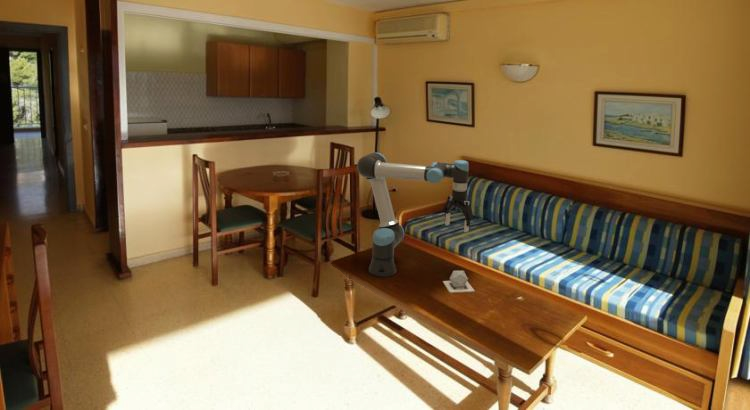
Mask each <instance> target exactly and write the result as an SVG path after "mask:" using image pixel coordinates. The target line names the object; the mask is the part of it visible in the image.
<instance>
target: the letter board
mask: <svg viewBox="0 0 750 410" xmlns="http://www.w3.org/2000/svg"><path fill="white" fill-rule="evenodd" d="M442 283H443V284H444V286H445V288H446V290H447V291H448V292H449V293H450V294H456V293H457V294H458V293H459V294H460V293H476V292H475V289H474V287H472V285H471V284H470V283H469V282H468V281H467V282H466V284H465V286H464V287H453V285H452V283H451V281H450V280H442Z"/></svg>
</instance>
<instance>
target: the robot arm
mask: <svg viewBox="0 0 750 410" xmlns="http://www.w3.org/2000/svg"><path fill="white" fill-rule="evenodd" d="M469 167H470V165H469V162H468V161H467V160H463V159H460V160H459V159H457V160H454V162H453V163H447V162H440V161H438V162H436V161H435V162H434V161H433V162H432V163H431V165H430V166H429V165H428V166H427V165H420V164H419V165H417V164H416V165H415V164H405V163H395V162H394V163H393V162H387V159H386V156H384V155H383V154H382V153H380V152H371V153H368V154H366V155H364V156H362V157H360V158H359V160H358V161H357V162H356V170H357V172H358V174H359V175H360V176H362V177H363V178H366V180H367V181H369V183H370V186H371V189H372V194H373V198H374V202H375V206H376V210H377V213H378V217H379V221H380V222H379V225H378V229H376V230H374V231H373V233H372V235H373V236H372V257H371V262H370V264H369V266H368V272H369V274H370V275H373V276H375V277H379V278H380V277H381V278H385V277H386V278H387V277H392V276H394V275H396V274H397V266H396V264H395V259H394V257H395V256H394V255H395V253H394V252H395V248H396V247H397V246H398V245H399V244H401V243H402V241H403V239H404V237H405V230H404V228H403V225H401V224H400V221H399V220H398V219H397V218H396V217H395V211H394V208H393V204H392V201H391V197H390V192H389V188H388V185H387V181H386V178H392V179H402V180H412V181H423V182H429V183H431V184H438V183H440V182H441V181H442V180H443V179H444V178H448V179H452V190H451V191H452V192H451V195H449V196H447V200H446V202H445V204H444V206H443V208H442V212H444V218H445V221H444V223H445V225H444V226H449V225H450V223H451V213H450V212H451V211H452V210H453V209H454V208H455V207H456V208H458V209H460V210H461V212H462V214H463V216H464V218H465V220H464V227H463V233H467V232H469V229H470V226H471V221H473V220H474V219H475V217H474V214H473V211H472V208H471V201H470V200H466V199H467V193H468V192H467V191H468V179H469V171H470V170H469Z"/></svg>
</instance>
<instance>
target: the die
mask: <svg viewBox="0 0 750 410" xmlns="http://www.w3.org/2000/svg"><path fill="white" fill-rule="evenodd" d="M468 280H469V278H468V277H467V275H466V273H465V270H453V271H452V273H451V274H450V277H449V281H451V283H452V285H453V287H464V286H465V284H466V282H468Z"/></svg>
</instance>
